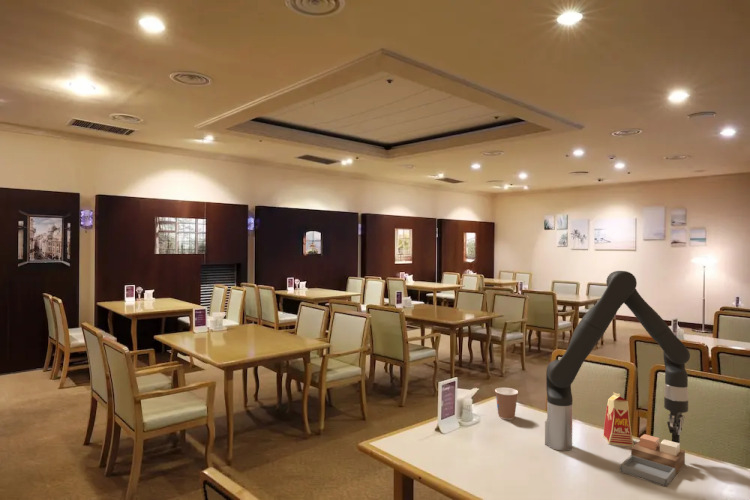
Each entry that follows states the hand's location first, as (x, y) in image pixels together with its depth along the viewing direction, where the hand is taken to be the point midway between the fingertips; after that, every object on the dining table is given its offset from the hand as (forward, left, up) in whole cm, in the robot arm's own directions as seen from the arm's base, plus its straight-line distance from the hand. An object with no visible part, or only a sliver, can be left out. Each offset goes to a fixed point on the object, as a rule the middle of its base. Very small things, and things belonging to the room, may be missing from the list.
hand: (675, 443), depth 172 cm
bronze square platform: (-4, -9, -6) cm, 11 cm away
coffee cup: (-66, -8, -6) cm, 66 cm away
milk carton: (-21, +1, -6) cm, 21 cm away
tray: (-4, -20, -6) cm, 21 cm away
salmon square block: (-7, -8, -1) cm, 10 cm away
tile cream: (0, -8, -1) cm, 8 cm away
